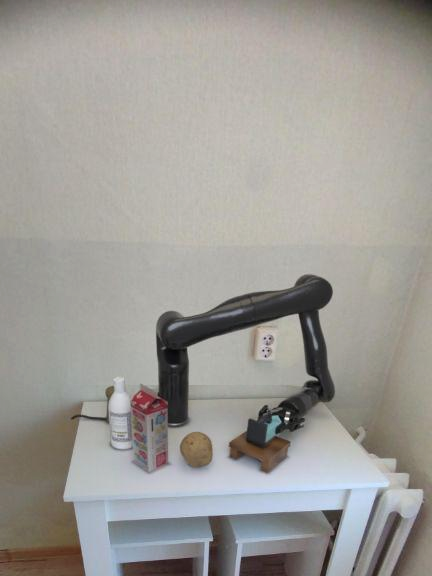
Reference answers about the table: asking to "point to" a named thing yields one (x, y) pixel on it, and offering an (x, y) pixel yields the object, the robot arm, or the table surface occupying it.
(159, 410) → the milk carton
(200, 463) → the natural sponge
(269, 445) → the stand
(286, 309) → the robot arm
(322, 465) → the table surface
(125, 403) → the bath foam
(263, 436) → the iron
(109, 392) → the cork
